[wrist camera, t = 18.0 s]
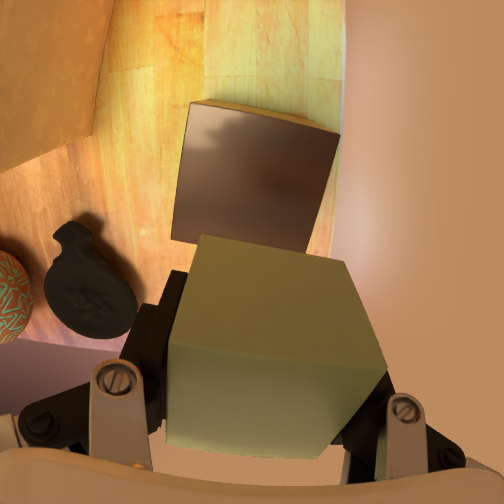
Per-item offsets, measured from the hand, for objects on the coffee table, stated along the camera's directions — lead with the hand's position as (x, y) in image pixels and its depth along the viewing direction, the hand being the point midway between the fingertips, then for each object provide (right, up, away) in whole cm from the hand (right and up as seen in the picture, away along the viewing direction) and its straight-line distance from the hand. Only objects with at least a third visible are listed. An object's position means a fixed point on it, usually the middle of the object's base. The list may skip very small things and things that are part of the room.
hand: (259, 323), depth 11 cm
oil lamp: (-23, 0, +33) cm, 40 cm away
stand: (0, +13, +25) cm, 29 cm away
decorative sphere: (-41, -1, +33) cm, 52 cm away
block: (0, 0, +1) cm, 1 cm away
